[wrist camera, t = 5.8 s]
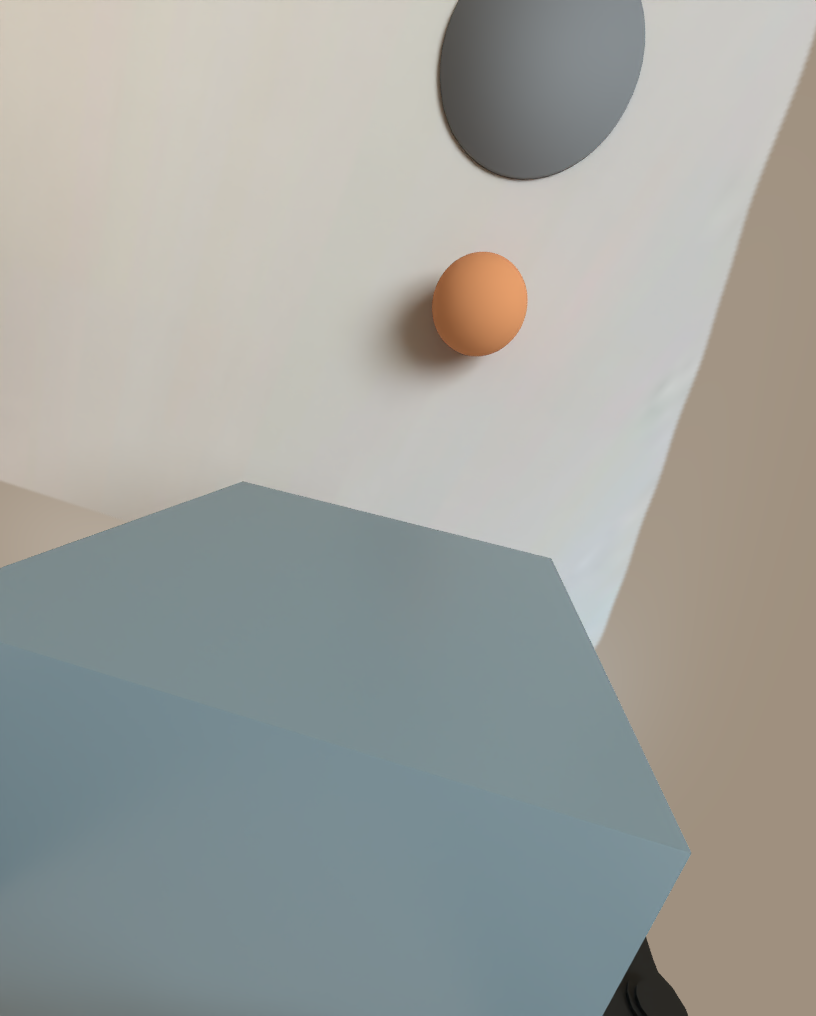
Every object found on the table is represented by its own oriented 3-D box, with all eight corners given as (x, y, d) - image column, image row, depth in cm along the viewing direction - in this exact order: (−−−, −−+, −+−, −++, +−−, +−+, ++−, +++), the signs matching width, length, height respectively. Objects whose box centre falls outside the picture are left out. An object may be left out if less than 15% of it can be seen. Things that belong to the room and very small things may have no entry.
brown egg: (427, 350, 26) (417, 340, 21) (446, 260, 24) (440, 227, 20) (508, 367, 25) (516, 361, 21) (532, 277, 24) (547, 248, 19)
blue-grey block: (218, 727, 17) (-43, 1059, 8) (242, 481, 14) (-112, 607, 6) (469, 804, 16) (464, 1269, 7) (551, 558, 13) (691, 853, 5)
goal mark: (421, 161, 23) (421, 160, 23) (466, -78, 21) (466, -83, 20) (603, 194, 23) (604, 193, 22) (675, -50, 20) (678, -55, 20)
